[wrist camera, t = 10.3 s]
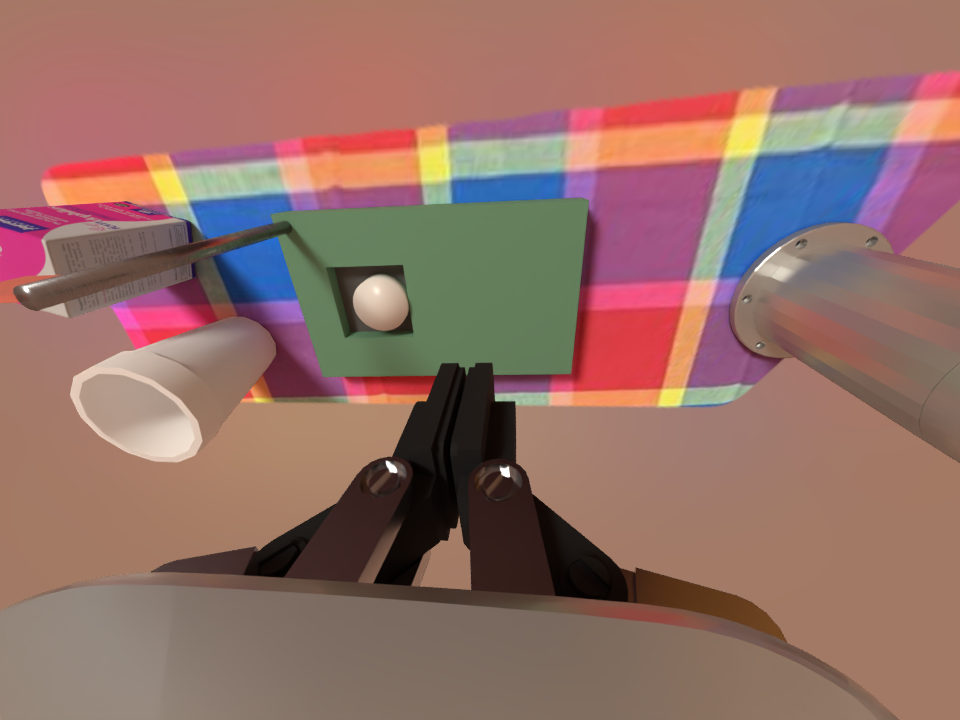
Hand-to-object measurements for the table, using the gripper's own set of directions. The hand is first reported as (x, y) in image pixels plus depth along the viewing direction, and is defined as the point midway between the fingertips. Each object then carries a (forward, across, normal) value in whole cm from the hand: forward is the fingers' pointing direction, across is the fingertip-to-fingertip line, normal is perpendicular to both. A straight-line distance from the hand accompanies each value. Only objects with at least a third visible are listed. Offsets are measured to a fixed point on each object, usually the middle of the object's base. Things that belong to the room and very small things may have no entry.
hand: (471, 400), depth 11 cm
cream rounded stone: (+21, +11, +3) cm, 24 cm away
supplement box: (+22, +32, -3) cm, 39 cm away
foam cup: (+22, +28, +8) cm, 37 cm away
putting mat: (+23, +8, +3) cm, 24 cm away
